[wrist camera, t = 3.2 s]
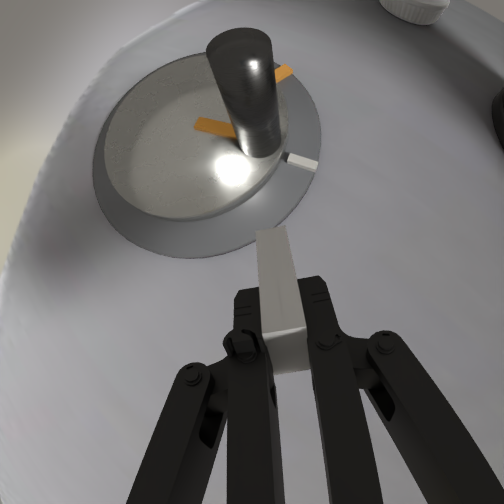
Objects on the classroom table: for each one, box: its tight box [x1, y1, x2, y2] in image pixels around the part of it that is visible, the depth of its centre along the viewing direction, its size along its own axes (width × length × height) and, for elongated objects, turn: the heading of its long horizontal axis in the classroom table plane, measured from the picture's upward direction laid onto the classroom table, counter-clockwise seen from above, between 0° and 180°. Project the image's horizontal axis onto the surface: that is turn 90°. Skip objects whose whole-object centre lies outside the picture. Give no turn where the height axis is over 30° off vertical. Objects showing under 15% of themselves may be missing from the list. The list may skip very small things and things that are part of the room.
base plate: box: [93, 52, 321, 259], centre depth 28 cm, size 24×24×2 cm
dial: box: [104, 28, 289, 222], centre depth 22 cm, size 18×18×13 cm
